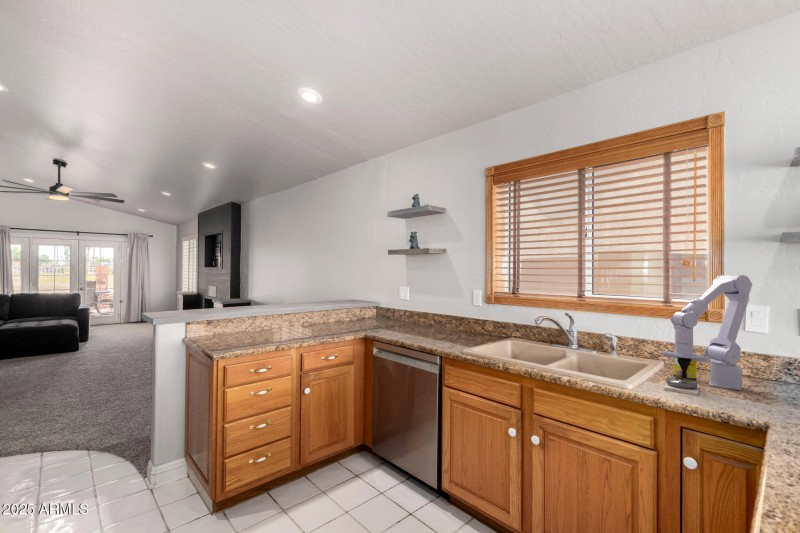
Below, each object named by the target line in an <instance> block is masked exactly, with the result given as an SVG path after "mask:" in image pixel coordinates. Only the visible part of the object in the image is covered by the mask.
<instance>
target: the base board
mask: <svg viewBox="0 0 800 533" xmlns="http://www.w3.org/2000/svg"><path fill="white" fill-rule="evenodd" d="M663 389H664V391H670V392H675V393H682V394H687V395H693V396H699V389H700V384H698V388H697V389H684V388H678V387H674V386H671V385H668V384H667V383H666V382H665V384H664V387H663Z"/></svg>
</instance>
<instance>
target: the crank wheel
mask: <svg viewBox="0 0 800 533" xmlns="http://www.w3.org/2000/svg"><path fill="white" fill-rule="evenodd" d="M665 381H666V382H665V384H666V383H667V384H668V385H671V386H674V387H678V388H684V389H697V388H698V385H699V384H698V382H697V381H696V380H688V379H683V378H682V370H675V376H674V377H667V378H666V380H665Z"/></svg>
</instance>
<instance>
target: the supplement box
mask: <svg viewBox="0 0 800 533" xmlns="http://www.w3.org/2000/svg"><path fill="white" fill-rule="evenodd" d="M672 352H675V350H673V351H672ZM693 354H695V355H697V353H694V352H693ZM677 360H678V358H673V377H676V376H675V370H682V369H681V367H680V365H679V363H678V361H677ZM683 379H688V380H692V381H696V380H697V361H695V360H692V361H691V363H690V365H689V367H688V369H687V378H683Z"/></svg>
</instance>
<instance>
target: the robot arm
mask: <svg viewBox="0 0 800 533" xmlns="http://www.w3.org/2000/svg"><path fill="white" fill-rule="evenodd" d="M752 287H753V283H752V281H751V279H750V278H749V277H748V275H744V274H741V275H739V274H737V275H736V274H735V275H734V274H733V275H732V274H731V275H727V274H726V275H725V274H720V275H718V276H716V278H714V279H713V280H712V285H710V287H709V288H708V289H707V290H706V291H705V292H704V293H703V294H702V295H701V296H700V297H699V298H693V299H691V300H689V303H688V304H686V306H684V307H683V308H681V310H680V311H676V312H674V313H673V314H672V316H671V318H670V321H671V322H670V323H671V324H672V325H673V329H674V344H675V345H674V351H675V352H673V351H665V350H661V357H662V358H663V357H664V358H665V357H666V358H678V360H677V361H678V363H679V365H680V367H681V369H682V378H687V369H688V367H689V365H690V363H691V361H692V360H695V361H696V362H704V363H710V368H709V370H710V373H709V375H710V377H709V378H710V379H709V381H708V386H709V387H716V388H723V389H729V390H737V391H742V386H743V380H742V366H741V365H740V364H739V365H738V363H739V361H740V360H741V349H742V347H741V346H740V345H739V344H738V343H737V342H736V341H737V337H738V334H739V332H740V331H739V330H740V328H741V325H742V322H743V319H744V315H745V313H746V310H747V306H748V304H749V300H750V293H751V290H752ZM722 294H723V296H725V297H727V299H728V303H727V307H726V310H725V312H724V315H723V319H722V321H721V325H720V328H719V332H718V334H717V336H716V337H714V338H712V339H710V341H709V343H708V344H707V346H706V347H705V349H704V354H705V356H704V355H701V354H700V355H699V354H696V353H694V328H695V326H697V324H698V320H699V318H701V316H702V315H704V313H705V312H707V311H708V310H709V305H710V303H712V302H713V301H714V300H716V299H717V298H718V297H719V296H721V295H722ZM693 353H694V354H693ZM695 354H696V355H695Z"/></svg>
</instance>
